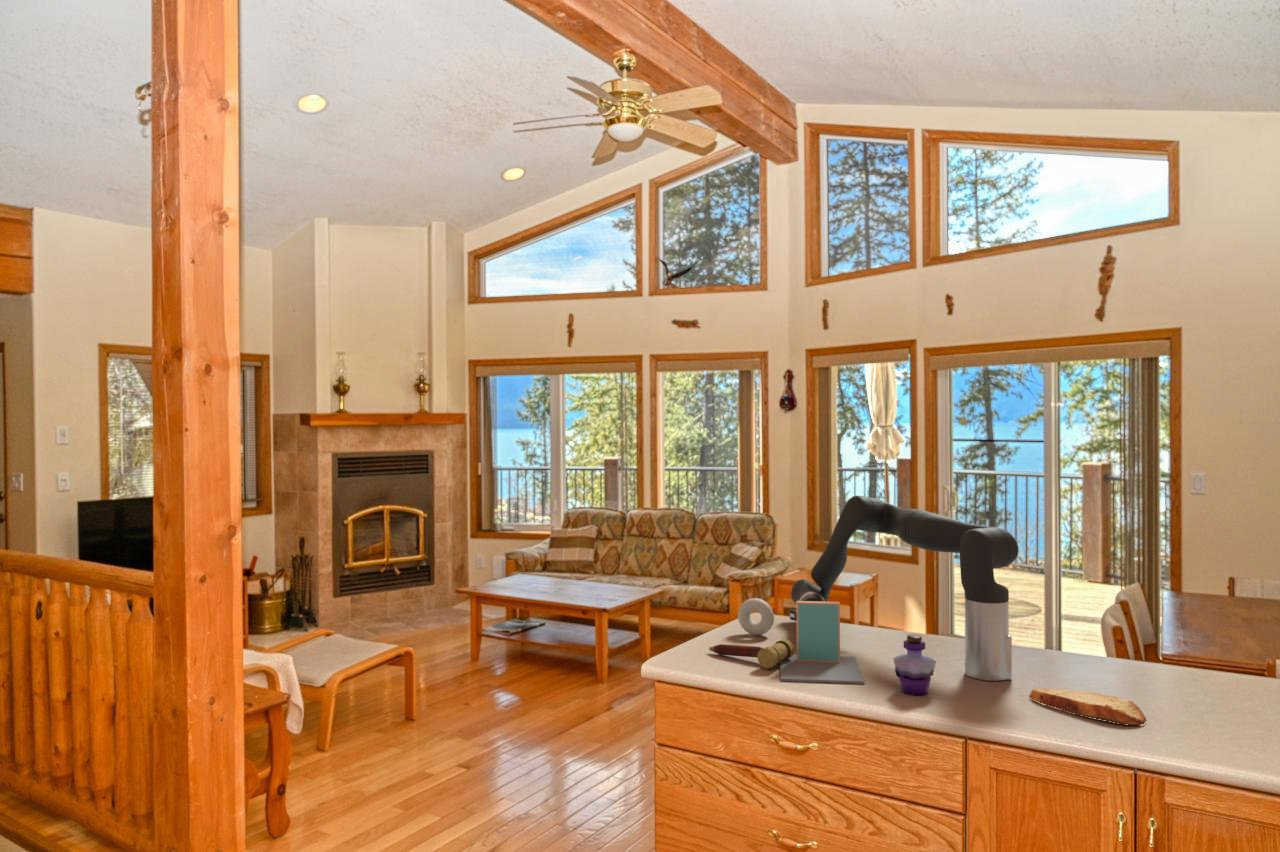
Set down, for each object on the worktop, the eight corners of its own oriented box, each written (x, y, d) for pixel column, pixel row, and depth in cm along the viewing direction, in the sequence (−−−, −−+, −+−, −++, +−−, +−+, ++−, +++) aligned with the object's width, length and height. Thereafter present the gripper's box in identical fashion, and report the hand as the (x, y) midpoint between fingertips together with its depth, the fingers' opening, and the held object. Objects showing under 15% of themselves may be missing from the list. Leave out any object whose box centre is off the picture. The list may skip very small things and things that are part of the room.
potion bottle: (894, 684, 188) (893, 629, 188) (935, 687, 186) (935, 632, 186) (892, 696, 180) (892, 639, 180) (936, 700, 177) (936, 642, 177)
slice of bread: (1023, 696, 181) (1023, 678, 181) (1113, 698, 179) (1113, 680, 179) (1055, 726, 163) (1055, 706, 163) (1155, 729, 161) (1155, 709, 161)
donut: (736, 634, 232) (735, 597, 232) (740, 631, 235) (739, 595, 235) (772, 638, 228) (772, 600, 228) (775, 635, 231) (775, 598, 231)
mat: (855, 658, 208) (855, 656, 208) (864, 684, 188) (864, 681, 188) (779, 656, 211) (779, 653, 211) (780, 681, 191) (780, 678, 191)
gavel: (697, 644, 210) (719, 635, 218) (699, 662, 210) (720, 653, 218) (773, 649, 198) (793, 639, 206) (775, 669, 198) (795, 658, 205)
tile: (839, 660, 204) (839, 601, 204) (840, 662, 203) (839, 603, 203) (796, 659, 206) (796, 600, 206) (797, 661, 204) (796, 602, 204)
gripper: (787, 593, 231) (789, 607, 214) (837, 594, 230) (843, 608, 212) (787, 621, 231) (789, 637, 214) (837, 622, 230) (843, 639, 212)
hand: (816, 623), depth 213 cm, fingers closed
